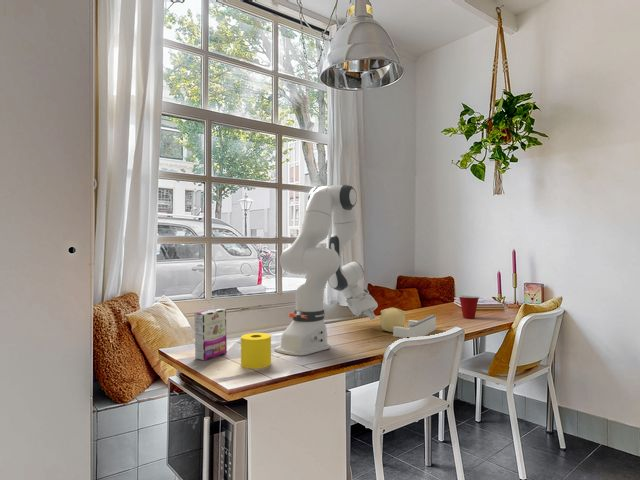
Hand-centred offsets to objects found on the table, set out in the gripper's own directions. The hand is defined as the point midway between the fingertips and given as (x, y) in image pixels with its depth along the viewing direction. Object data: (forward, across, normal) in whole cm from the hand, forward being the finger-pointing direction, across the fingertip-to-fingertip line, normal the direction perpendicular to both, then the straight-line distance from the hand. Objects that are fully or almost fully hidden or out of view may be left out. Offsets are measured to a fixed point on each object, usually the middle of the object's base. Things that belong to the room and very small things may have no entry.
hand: (373, 318), depth 196 cm
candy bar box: (-17, -74, +24) cm, 79 cm away
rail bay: (+17, 0, -10) cm, 20 cm away
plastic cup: (+25, +52, -18) cm, 61 cm away
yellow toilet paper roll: (-2, -72, +10) cm, 73 cm away
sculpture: (+10, 0, -3) cm, 11 cm away
